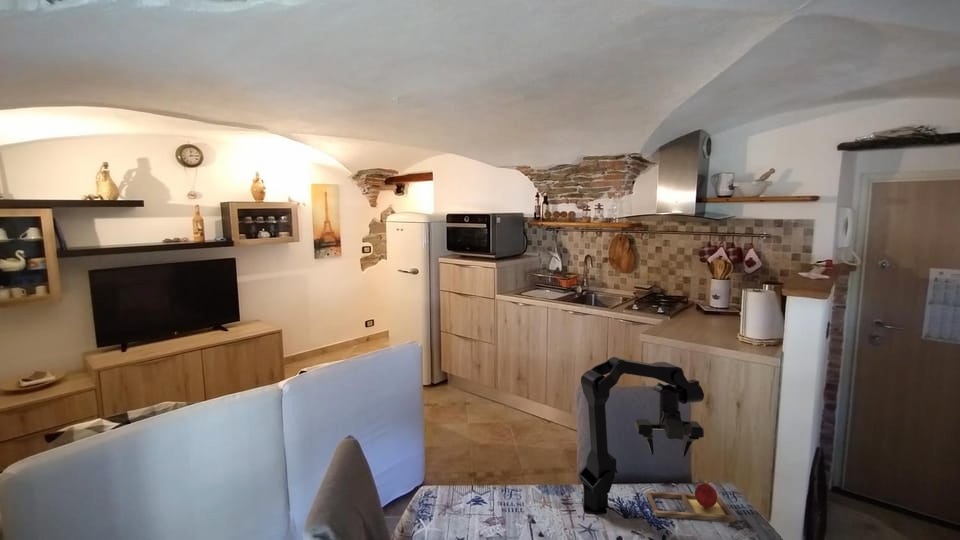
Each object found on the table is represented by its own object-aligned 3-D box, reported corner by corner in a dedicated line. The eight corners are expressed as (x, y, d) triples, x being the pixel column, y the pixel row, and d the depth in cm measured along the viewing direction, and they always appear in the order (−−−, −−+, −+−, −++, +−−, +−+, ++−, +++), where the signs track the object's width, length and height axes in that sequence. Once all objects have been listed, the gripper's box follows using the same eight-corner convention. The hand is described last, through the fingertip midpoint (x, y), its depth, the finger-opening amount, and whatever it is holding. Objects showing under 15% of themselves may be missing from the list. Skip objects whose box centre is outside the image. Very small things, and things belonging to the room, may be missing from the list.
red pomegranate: (719, 515, 128) (720, 487, 127) (697, 512, 129) (698, 485, 129) (713, 503, 134) (714, 476, 133) (692, 501, 135) (692, 475, 134)
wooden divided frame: (655, 516, 128) (655, 512, 128) (646, 494, 139) (646, 490, 139) (734, 521, 125) (734, 517, 125) (719, 499, 136) (719, 495, 136)
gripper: (643, 413, 131) (642, 466, 132) (711, 416, 128) (710, 470, 129) (635, 400, 142) (634, 449, 143) (698, 402, 139) (696, 452, 140)
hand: (667, 455), depth 139 cm, fingers open, 9 cm apart
